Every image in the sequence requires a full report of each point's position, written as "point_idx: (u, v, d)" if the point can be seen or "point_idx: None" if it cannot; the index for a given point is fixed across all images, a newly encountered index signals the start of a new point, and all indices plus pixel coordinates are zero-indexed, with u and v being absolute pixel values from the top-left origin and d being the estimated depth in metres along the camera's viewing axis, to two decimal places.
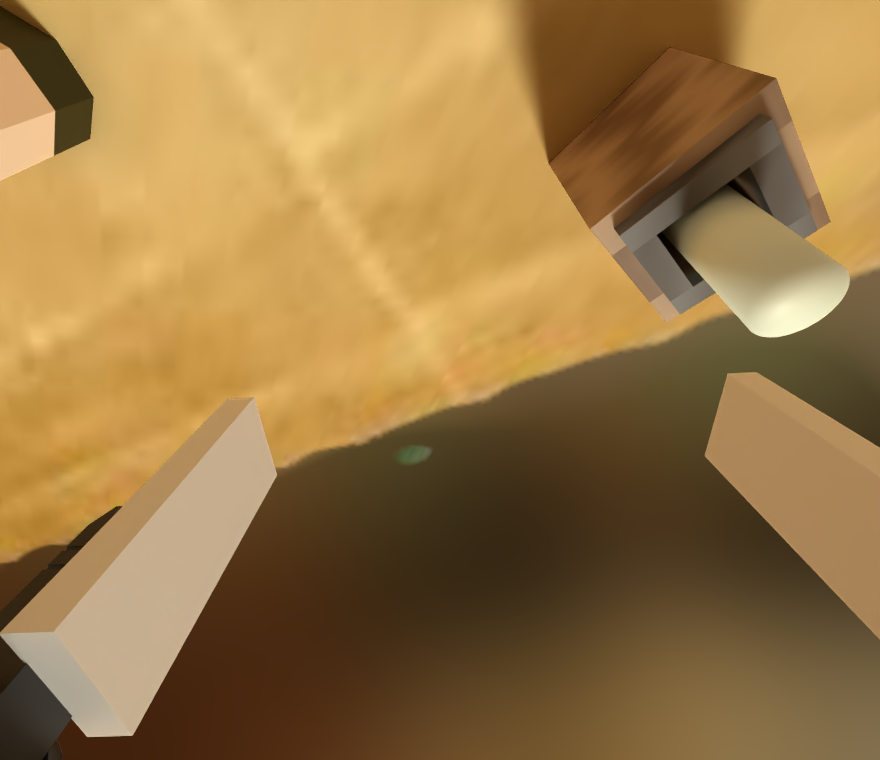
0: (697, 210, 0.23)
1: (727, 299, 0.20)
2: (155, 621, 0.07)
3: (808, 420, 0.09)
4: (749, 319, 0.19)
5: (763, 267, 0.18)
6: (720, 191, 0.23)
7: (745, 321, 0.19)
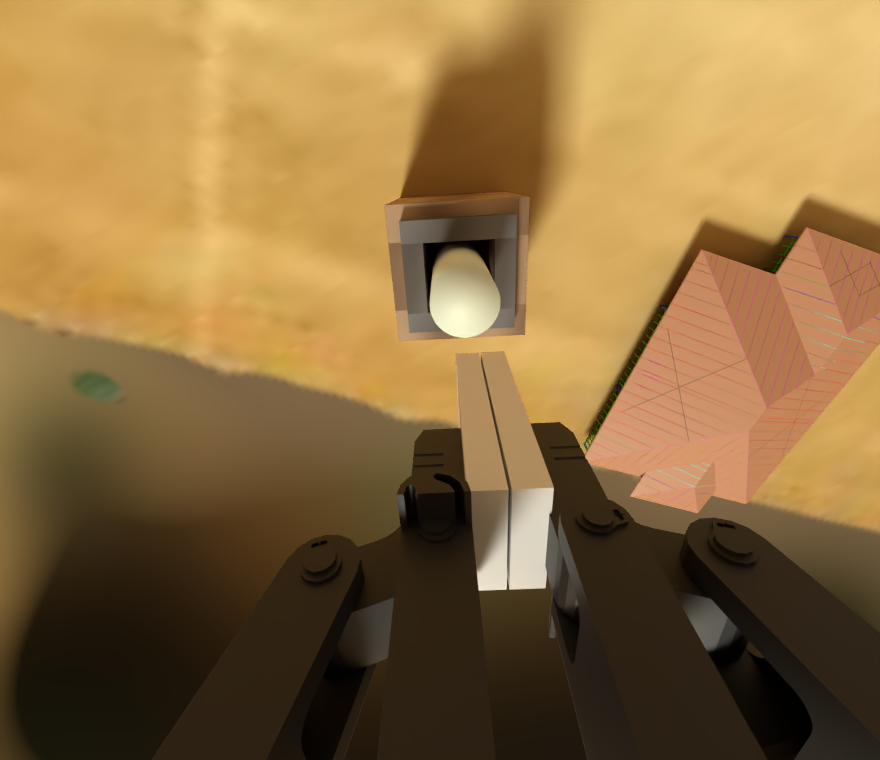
0: (455, 248, 0.29)
1: (431, 288, 0.24)
2: None
3: (497, 385, 0.11)
4: (433, 297, 0.23)
5: (459, 265, 0.23)
6: (475, 251, 0.29)
7: (430, 298, 0.23)
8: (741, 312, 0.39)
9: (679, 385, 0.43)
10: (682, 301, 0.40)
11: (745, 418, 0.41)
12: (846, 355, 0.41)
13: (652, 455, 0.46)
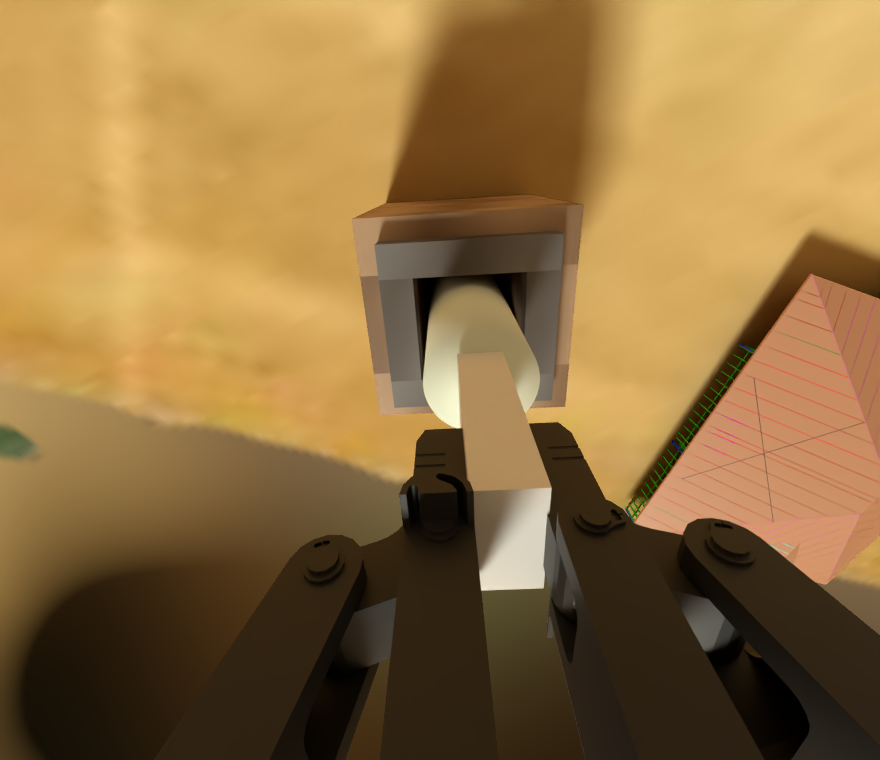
0: (463, 278, 0.20)
1: (426, 350, 0.15)
2: None
3: (495, 385, 0.11)
4: (428, 372, 0.14)
5: (472, 319, 0.14)
6: (490, 281, 0.20)
7: None
8: (860, 359, 0.29)
9: (764, 450, 0.32)
10: (778, 343, 0.30)
11: (856, 498, 0.31)
12: None
13: None
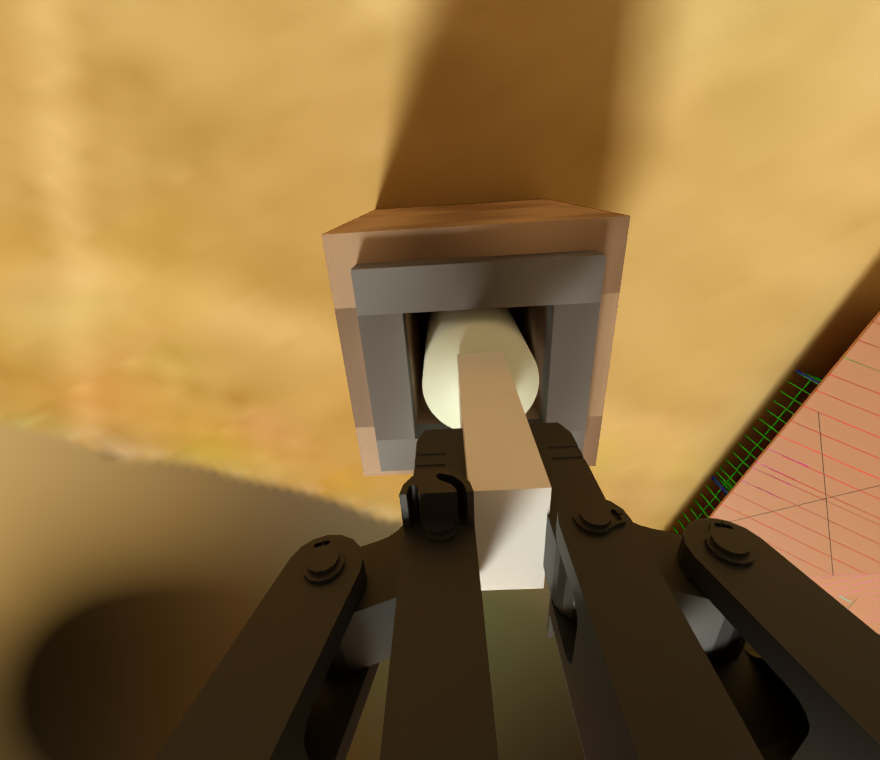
0: None
1: (425, 352, 0.15)
2: None
3: (495, 385, 0.11)
4: (427, 374, 0.14)
5: (471, 320, 0.14)
6: None
7: (423, 375, 0.14)
8: None
9: (826, 494, 0.28)
10: (850, 372, 0.25)
11: None
12: None
13: None
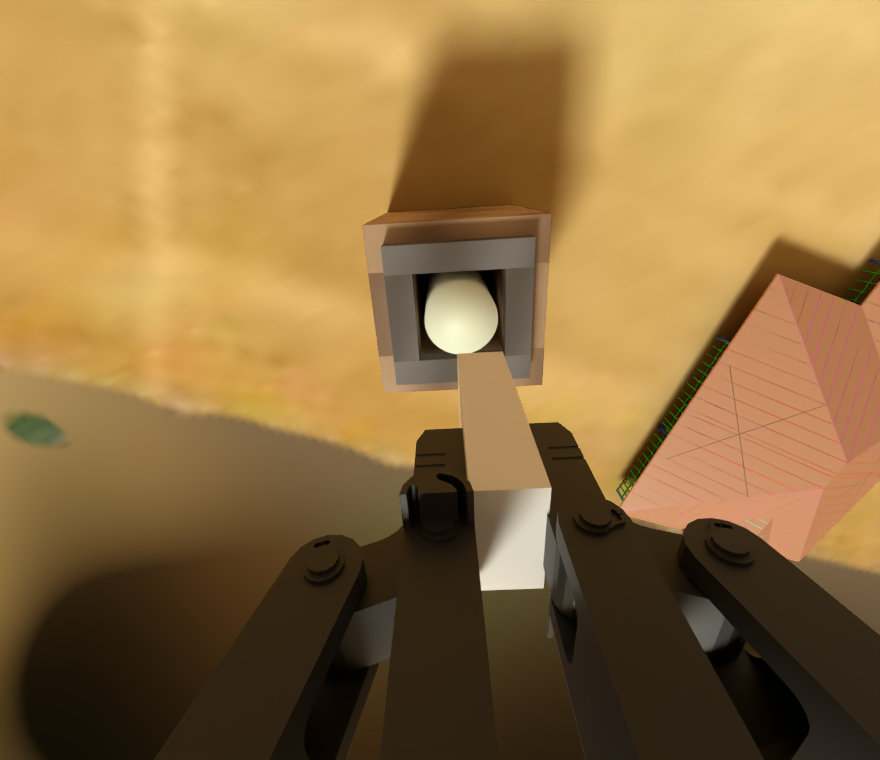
0: None
1: (426, 303, 0.23)
2: None
3: (495, 385, 0.11)
4: (427, 313, 0.22)
5: (455, 279, 0.22)
6: None
7: (425, 314, 0.22)
8: (821, 349, 0.33)
9: (739, 431, 0.36)
10: (750, 334, 0.34)
11: (820, 474, 0.35)
12: None
13: (701, 510, 0.40)
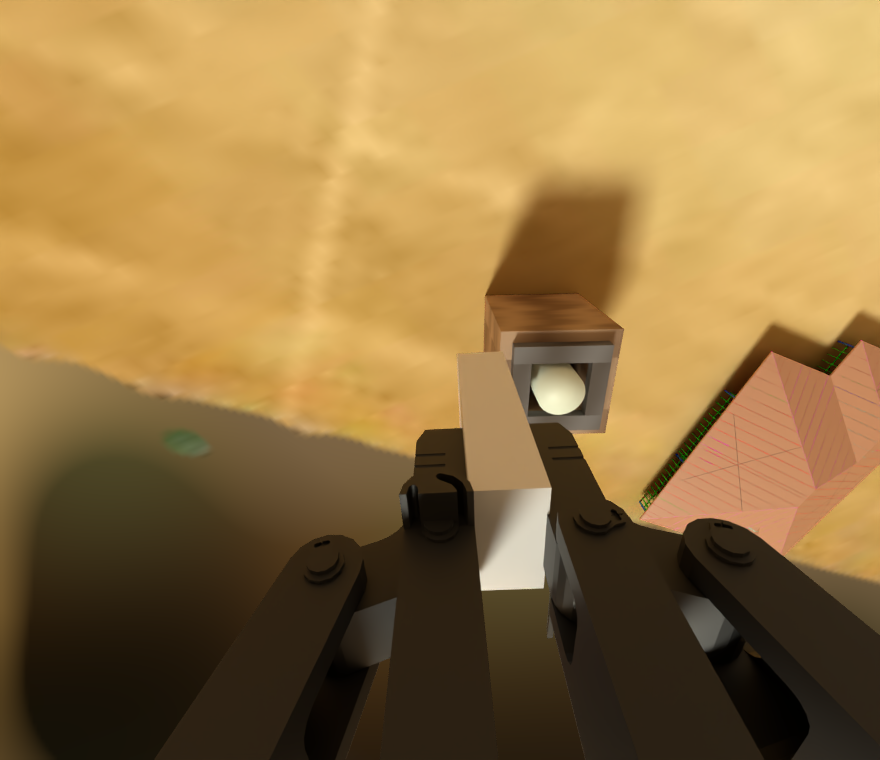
0: None
1: (534, 378, 0.35)
2: None
3: (495, 385, 0.11)
4: (540, 388, 0.34)
5: (558, 367, 0.34)
6: None
7: (537, 389, 0.34)
8: (800, 406, 0.45)
9: (738, 462, 0.48)
10: (750, 392, 0.46)
11: (795, 496, 0.47)
12: None
13: None
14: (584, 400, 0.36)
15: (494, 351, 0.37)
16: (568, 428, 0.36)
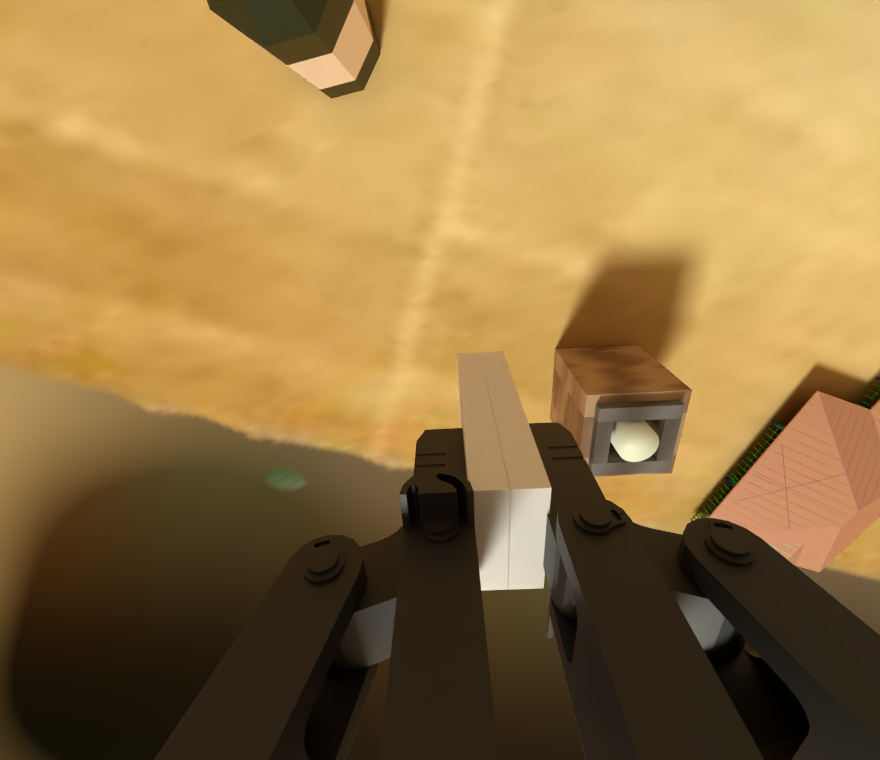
0: None
1: (612, 431, 0.41)
2: None
3: (496, 385, 0.11)
4: (620, 441, 0.40)
5: (634, 423, 0.40)
6: None
7: (618, 442, 0.40)
8: (843, 438, 0.50)
9: (786, 486, 0.54)
10: (797, 426, 0.51)
11: (839, 517, 0.52)
12: None
13: None
14: None
15: (574, 405, 0.44)
16: (641, 471, 0.42)
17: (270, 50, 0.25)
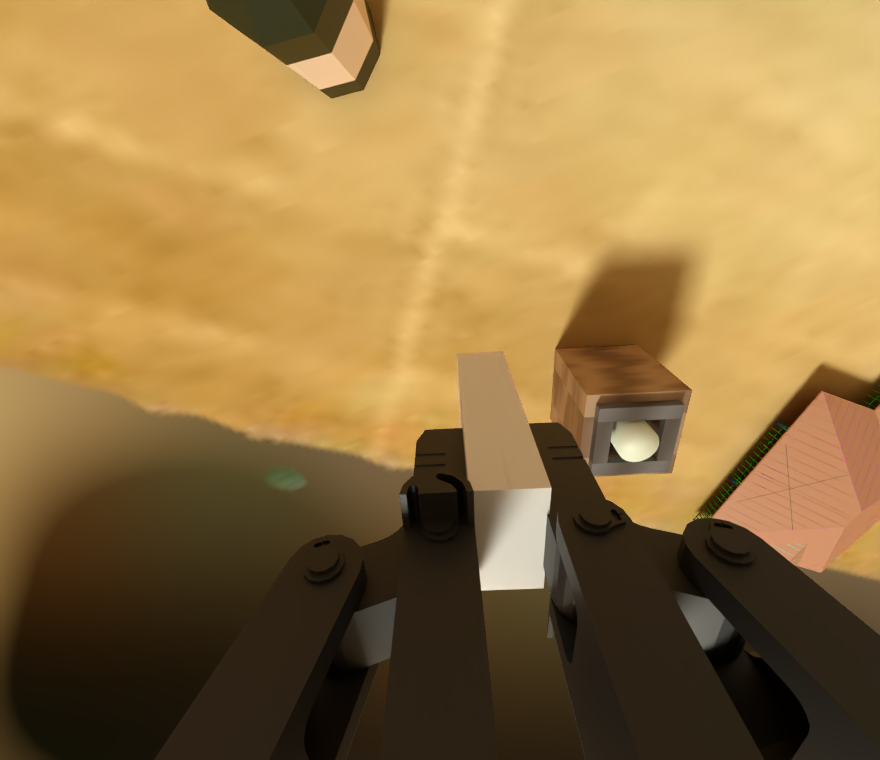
0: None
1: (612, 431, 0.41)
2: None
3: (495, 385, 0.11)
4: (620, 441, 0.40)
5: (635, 422, 0.40)
6: None
7: (618, 442, 0.40)
8: (847, 438, 0.50)
9: (789, 487, 0.54)
10: (801, 426, 0.51)
11: (843, 517, 0.52)
12: None
13: None
14: None
15: (574, 405, 0.44)
16: (642, 471, 0.42)
17: (269, 50, 0.24)
